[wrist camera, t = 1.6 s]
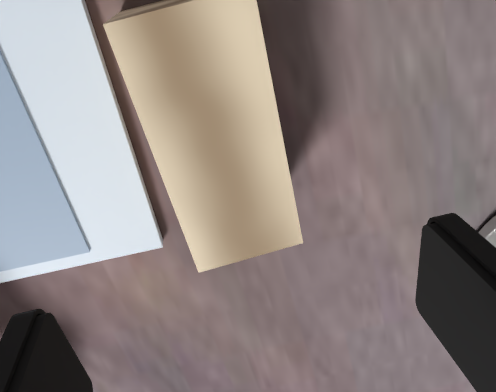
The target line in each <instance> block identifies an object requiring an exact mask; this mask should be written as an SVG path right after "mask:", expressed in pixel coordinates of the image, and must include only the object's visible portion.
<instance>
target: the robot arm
mask: <svg viewBox="0 0 496 392" xmlns="http://www.w3.org/2000/svg"><path fill="white" fill-rule="evenodd" d="M416 306H417V309H418V311H419V313H420V314H421V316H422V317H423V318H424V320H425V321H426V323H427V324H428V325H429V327H430V328H431V329H432V331H433V332H434V334H435V335H436V336H437V338H438V339H439V340H440V342H441V343H442V345H443V346H444V347H445V349H446V350H447V351H448V353H449V354H450V356H451V357H452V358H453V360H454V361H455V362H456V364H457V365H458V367H459V368H460V369H461V371H462V372H463V373H464V375H465V376H466V378H467V379H468V380H469V382H470V383H471V384H472V386H473V387H474V389H475V390H476V391H477V392H496V215H495V216H494V217H493V218H492V219H491V220H490V221H489V222H487V223H486V224H485V225H484V227H483V228H482V229H481V230H480V231H479V232H477V231H476V230H475V229H473V228H472V227H471V226H470V225H469V224H468V223H466V222H465V221H464V220H463V219H462V218H460V217H459V216H458V215H456V214H455V213H450V214H445V215H441V216H437V217H432V218H430V219H429V220H428V223H427V225H424V226H423V229H422V237H421V247H420V258H419V268H418V279H417V289H416ZM0 392H93V387H92V382H91V380H90V378H89V376H88V374H87V373H86V371H85V369H84V368H83V366H82V364H81V362H80V361H79V359H78V357H77V355H76V354H75V352H74V350H73V349H72V347H71V345H70V343H69V342H68V340H67V338H66V337H65V335H64V333H63V331H62V330H61V328H60V326H59V325H58V323H57V321H56V319H55V318H54V316H53V315H52V314H51V313H45V312H44V311H43V310H42V309H36V310H32V311H27V312H23V313H19V314H15V315H13V316H12V317H11V319H10V321H9V323H8V325H7V327H6V330H5V332H4V334H3V336H2V338H1V341H0Z"/></svg>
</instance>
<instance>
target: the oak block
mask: <svg viewBox="0 0 496 392" xmlns="http://www.w3.org/2000/svg"><path fill="white" fill-rule="evenodd" d="M103 26H104V29H105V31H106V34H107V36H108V39H109V42H110V44H111V47H112V49H113V52H114V55H115V57H116V60H117V62H118V65H119V67H120V70H121V73H122V75H123V78H124V80H125V83H126V86H127V88H128V91H129V93H130V96H131V99H132V101H133V104H134V106H135V109H136V111H137V114H138V117H139V119H140V122H141V124H142V127H143V130H144V132H145V135H146V137H147V140H148V143H149V145H150V148H151V150H152V153H153V156H154V158H155V161H156V163H157V166H158V168H159V171H160V174H161V176H162V179H163V181H164V184H165V187H166V189H167V192H168V194H169V197H170V200H171V202H172V205H173V207H174V210H175V213H176V215H177V218H178V220H179V223H180V225H181V228H182V231H183V233H184V236H185V238H186V241H187V244H188V246H189V249H190V251H191V254H192V257H193V259H194V262H195V264H196V267H197V269H198V272H199V273H200V272H203V271H207V270H210V269H214V268H217V267H221V266H224V265H228V264H231V263H235V262H238V261H242V260H245V259H249V258H252V257H256V256H259V255H263V254H266V253H270V252H273V251H277V250H280V249H284V248H287V247H291V246H294V245H298V244H301V243H303V240H302V235H301V229H300V224H299V219H298V214H297V209H296V203H295V198H294V193H293V188H292V183H291V177H290V172H289V167H288V162H287V157H286V151H285V146H284V141H283V136H282V130H281V125H280V120H279V115H278V110H277V104H276V99H275V94H274V89H273V84H272V78H271V73H270V68H269V63H268V58H267V52H266V47H265V42H264V37H263V32H262V26H261V21H260V16H259V11H258V6H257V0H162V1H158V2H155V3H151V4H147V5H143V6H139V7H136V8H132V9H128V10H124V11H121V12H119V13H118V14H117V15H115V16H114V17H112V18H111V19H110V20H108V21H107V22H106V23H104V24H103Z"/></svg>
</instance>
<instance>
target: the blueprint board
mask: <svg viewBox="0 0 496 392" xmlns="http://www.w3.org/2000/svg"><path fill="white" fill-rule="evenodd" d="M162 247H163V239H162V236H161V233H160V230H159V227H158V224H157V220H156V217H155V214H154V211H153V208H152V205H151V202H150V199H149V196H148V193H147V190H146V187H145V184H144V181H143V178H142V174H141V171H140V168H139V165H138V162H137V159H136V156H135V153H134V150H133V147H132V144H131V141H130V138H129V135H128V132H127V128H126V125H125V122H124V119H123V116H122V113H121V110H120V107H119V104H118V101H117V98H116V95H115V92H114V89H113V86H112V83H111V79H110V76H109V73H108V70H107V67H106V64H105V61H104V58H103V55H102V52H101V49H100V46H99V43H98V40H97V37H96V33H95V30H94V27H93V24H92V21H91V18H90V15H89V12H88V9H87V6H86V3H85V0H0V283H2V282H7V281H12V280H16V279H21V278H25V277H30V276H34V275H39V274H43V273H48V272H52V271H57V270H62V269H66V268H71V267H75V266H80V265H84V264H89V263H93V262H98V261H103V260H107V259H112V258H116V257H121V256H125V255H130V254H134V253H139V252H143V251H148V250H153V249H157V248H162Z"/></svg>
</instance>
